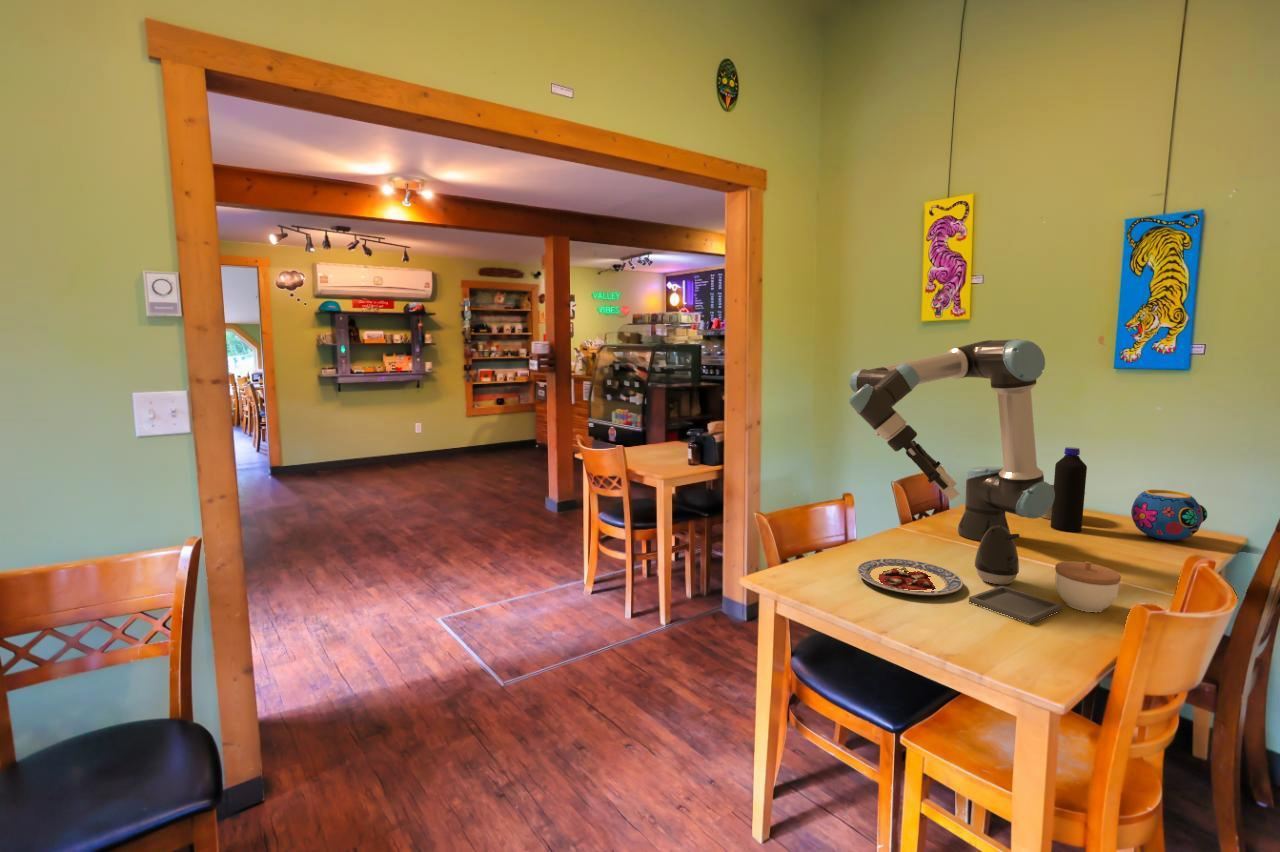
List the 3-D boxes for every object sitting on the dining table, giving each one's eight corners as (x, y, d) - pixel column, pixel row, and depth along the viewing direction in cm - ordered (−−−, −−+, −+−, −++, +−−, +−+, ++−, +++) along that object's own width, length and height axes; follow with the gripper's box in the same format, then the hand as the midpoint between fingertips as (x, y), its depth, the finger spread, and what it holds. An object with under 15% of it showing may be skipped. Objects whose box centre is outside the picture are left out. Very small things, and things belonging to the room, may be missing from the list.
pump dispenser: (1003, 591, 157) (1007, 534, 156) (965, 578, 167) (968, 523, 165) (1027, 584, 162) (1031, 528, 160) (989, 572, 171) (992, 518, 169)
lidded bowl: (1130, 614, 144) (1135, 568, 143) (1090, 620, 140) (1094, 574, 139) (1078, 593, 156) (1082, 551, 155) (1040, 599, 152) (1043, 556, 151)
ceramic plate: (969, 608, 148) (970, 596, 148) (855, 594, 157) (856, 582, 156) (955, 572, 172) (956, 562, 172) (857, 561, 181) (858, 551, 180)
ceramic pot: (1186, 550, 189) (1192, 502, 187) (1118, 535, 204) (1123, 491, 202) (1209, 541, 198) (1214, 495, 196) (1142, 527, 213) (1147, 485, 211)
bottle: (1054, 530, 210) (1060, 449, 206) (1047, 524, 218) (1053, 445, 214) (1085, 533, 206) (1092, 450, 203) (1077, 526, 215) (1083, 446, 211)
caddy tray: (968, 602, 151) (969, 597, 150) (1001, 591, 158) (1001, 585, 158) (1029, 624, 139) (1029, 618, 138) (1061, 611, 146) (1062, 604, 146)
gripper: (887, 436, 183) (940, 491, 178) (883, 447, 160) (944, 510, 156) (908, 419, 180) (962, 474, 175) (906, 428, 157) (969, 492, 153)
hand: (954, 491), depth 166 cm, fingers open, 13 cm apart
